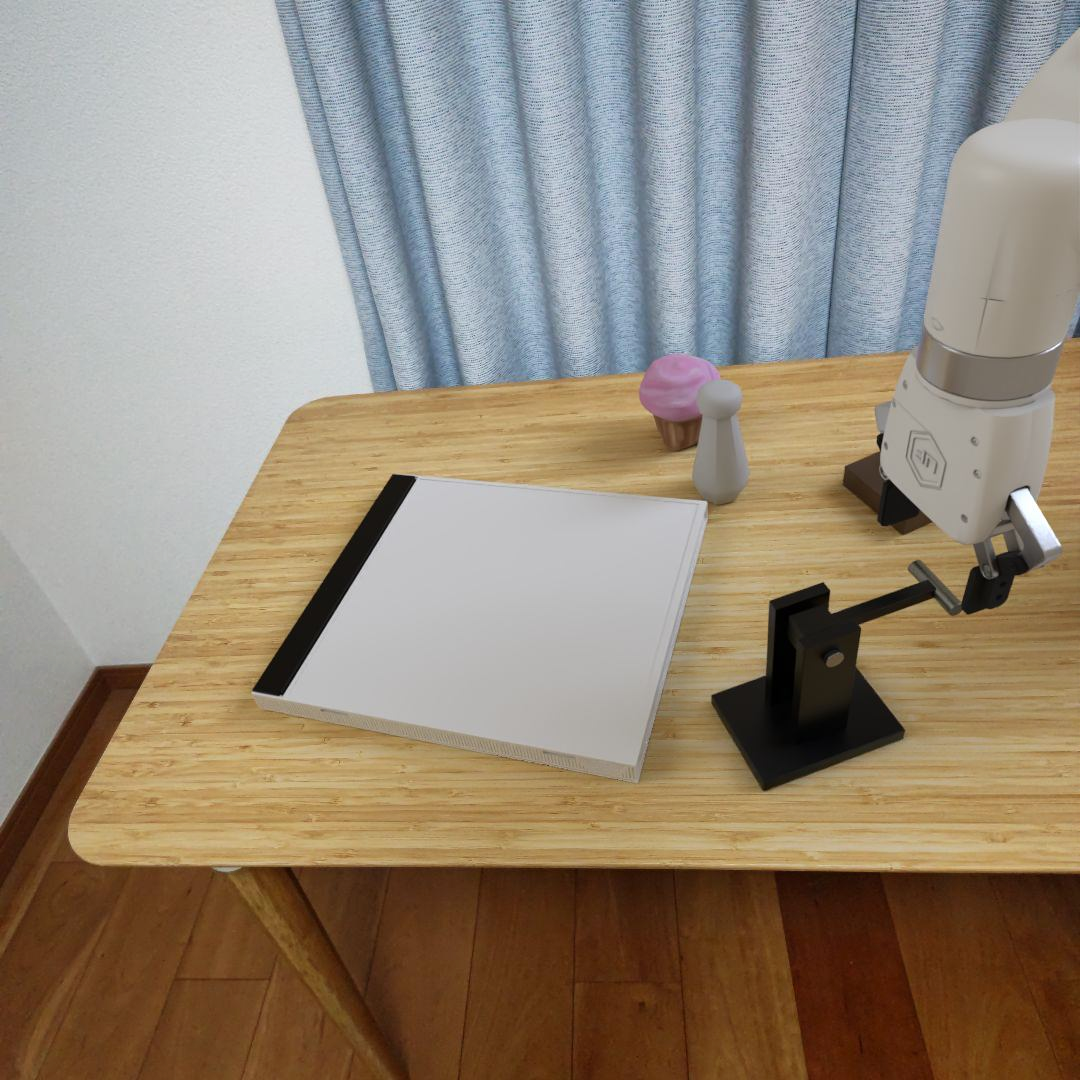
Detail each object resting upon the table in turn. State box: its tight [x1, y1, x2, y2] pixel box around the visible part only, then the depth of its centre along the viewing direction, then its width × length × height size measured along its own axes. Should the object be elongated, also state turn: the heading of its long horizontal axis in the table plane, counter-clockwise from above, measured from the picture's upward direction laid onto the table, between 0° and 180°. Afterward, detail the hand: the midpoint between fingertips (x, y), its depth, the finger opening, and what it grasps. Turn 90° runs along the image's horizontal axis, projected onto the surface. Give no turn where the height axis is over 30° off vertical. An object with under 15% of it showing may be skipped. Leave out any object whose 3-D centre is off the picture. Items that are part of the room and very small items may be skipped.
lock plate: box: [842, 450, 934, 536], centre depth 89 cm, size 13×9×3 cm
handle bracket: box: [710, 581, 906, 792], centre depth 68 cm, size 12×9×13 cm
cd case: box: [250, 472, 709, 784], centre depth 85 cm, size 35×2×31 cm
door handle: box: [787, 559, 963, 650], centre depth 65 cm, size 12×5×2 cm, turn 108°
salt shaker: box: [691, 378, 751, 506], centre depth 89 cm, size 6×6×13 cm
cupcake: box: [638, 352, 722, 451], centre depth 98 cm, size 9×9×10 cm
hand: (938, 560), depth 64 cm, fingers open, 9 cm apart
